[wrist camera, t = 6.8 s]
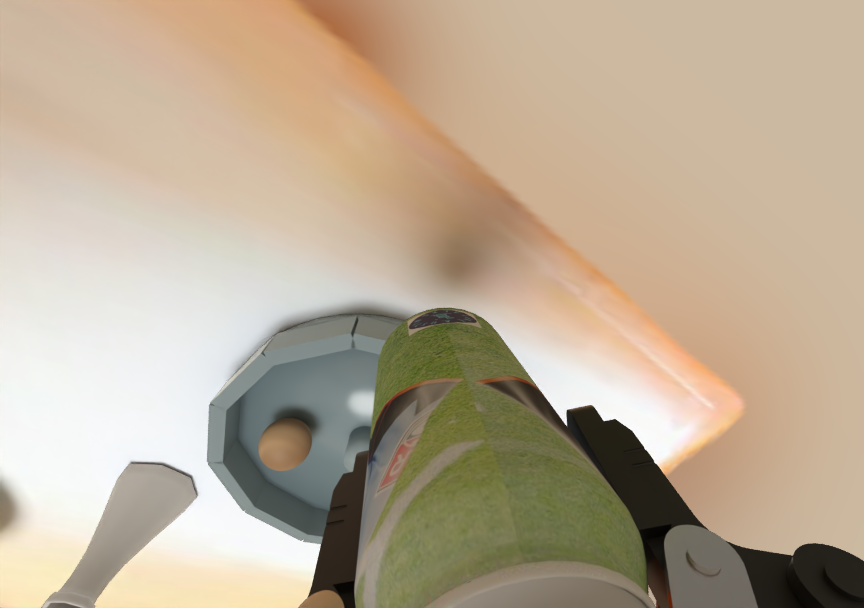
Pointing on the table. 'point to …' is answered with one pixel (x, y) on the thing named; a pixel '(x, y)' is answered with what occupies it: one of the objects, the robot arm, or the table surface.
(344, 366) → the tray
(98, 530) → the flask
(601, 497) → the beverage can
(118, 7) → the table surface
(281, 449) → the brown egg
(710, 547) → the robot arm
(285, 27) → the table surface
